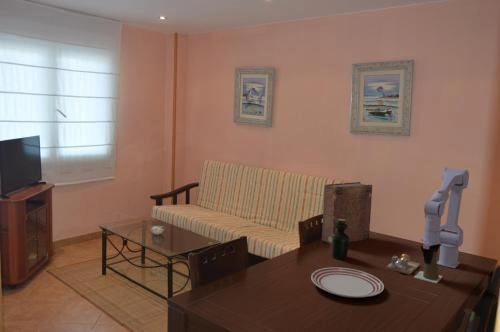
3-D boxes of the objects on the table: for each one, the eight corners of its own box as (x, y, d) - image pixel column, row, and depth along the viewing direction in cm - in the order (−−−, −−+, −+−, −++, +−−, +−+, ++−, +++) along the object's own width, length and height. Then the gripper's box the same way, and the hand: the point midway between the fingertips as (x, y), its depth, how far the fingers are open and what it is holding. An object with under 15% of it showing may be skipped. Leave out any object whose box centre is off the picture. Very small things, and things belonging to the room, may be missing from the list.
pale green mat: (420, 271, 182) (420, 270, 182) (442, 277, 177) (442, 276, 177) (413, 277, 175) (413, 276, 175) (436, 283, 170) (436, 282, 170)
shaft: (400, 261, 190) (401, 252, 190) (409, 263, 188) (410, 254, 187) (391, 268, 181) (392, 259, 181) (401, 270, 179) (401, 261, 179)
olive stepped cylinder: (440, 279, 172) (440, 252, 171) (424, 278, 173) (424, 252, 172) (437, 274, 178) (436, 248, 177) (421, 274, 179) (421, 248, 178)
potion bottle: (350, 256, 199) (353, 219, 197) (344, 261, 192) (347, 222, 190) (334, 253, 203) (336, 216, 201) (328, 257, 197) (330, 220, 194)
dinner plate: (384, 280, 172) (385, 272, 171) (382, 309, 146) (382, 300, 146) (317, 270, 181) (318, 263, 180) (303, 295, 155) (304, 287, 155)
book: (356, 234, 236) (360, 181, 232) (369, 239, 228) (372, 184, 224) (321, 240, 223) (324, 184, 219) (333, 245, 215) (336, 187, 212)
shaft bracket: (397, 260, 196) (398, 248, 195) (419, 265, 190) (420, 253, 189) (386, 268, 185) (387, 256, 184) (409, 274, 179) (410, 261, 178)
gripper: (427, 224, 182) (424, 255, 183) (416, 231, 170) (414, 264, 172) (444, 228, 177) (441, 259, 179) (435, 235, 166) (432, 268, 168)
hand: (429, 261), depth 175 cm, fingers closed on olive stepped cylinder, 5 cm apart
